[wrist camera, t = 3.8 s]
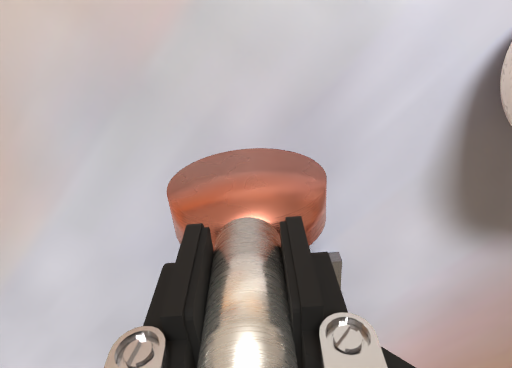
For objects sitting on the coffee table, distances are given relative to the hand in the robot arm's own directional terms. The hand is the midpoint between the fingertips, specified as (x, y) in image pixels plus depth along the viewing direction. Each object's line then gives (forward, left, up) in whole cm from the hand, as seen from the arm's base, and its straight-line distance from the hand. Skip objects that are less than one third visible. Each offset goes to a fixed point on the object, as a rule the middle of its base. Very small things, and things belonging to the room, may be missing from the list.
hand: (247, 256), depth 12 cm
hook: (+9, 0, -8) cm, 12 cm away
